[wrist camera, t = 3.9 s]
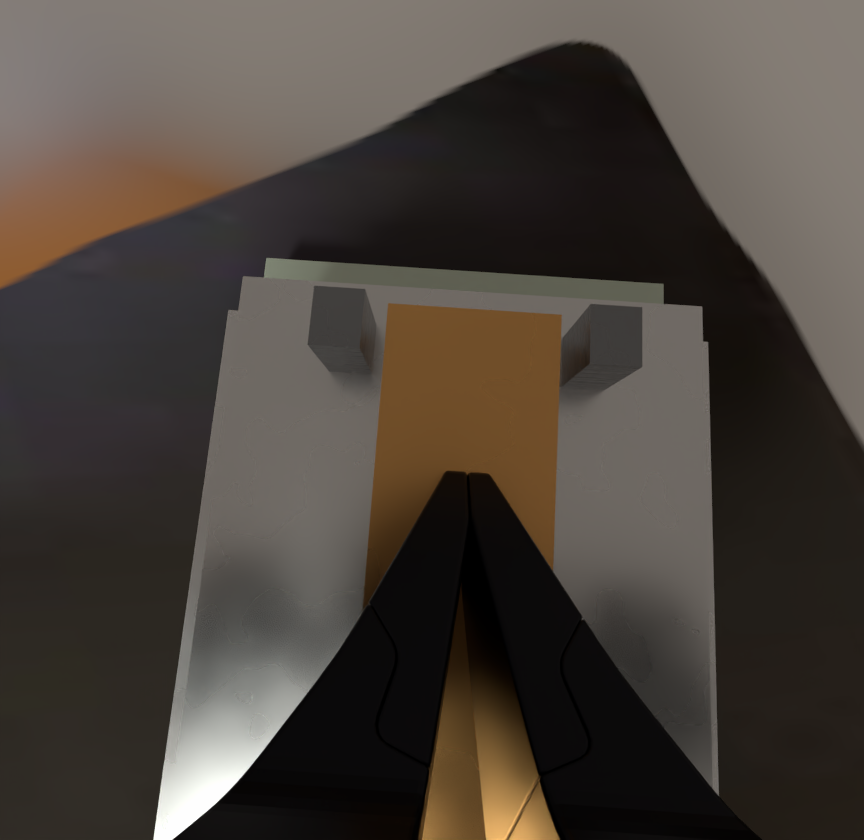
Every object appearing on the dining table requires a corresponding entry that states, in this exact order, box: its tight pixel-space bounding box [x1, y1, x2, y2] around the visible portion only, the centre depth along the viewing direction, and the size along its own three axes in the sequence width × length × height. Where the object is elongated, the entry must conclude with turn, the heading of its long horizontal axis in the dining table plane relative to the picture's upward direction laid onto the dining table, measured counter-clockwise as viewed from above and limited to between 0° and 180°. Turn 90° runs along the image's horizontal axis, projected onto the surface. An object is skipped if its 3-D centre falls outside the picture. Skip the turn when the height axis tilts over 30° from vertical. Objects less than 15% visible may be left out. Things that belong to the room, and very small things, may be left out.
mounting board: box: [264, 258, 664, 304], centre depth 16 cm, size 20×14×2 cm
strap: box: [362, 303, 562, 840], centre depth 9 cm, size 15×4×1 cm, turn 176°
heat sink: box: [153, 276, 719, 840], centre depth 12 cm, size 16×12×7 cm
